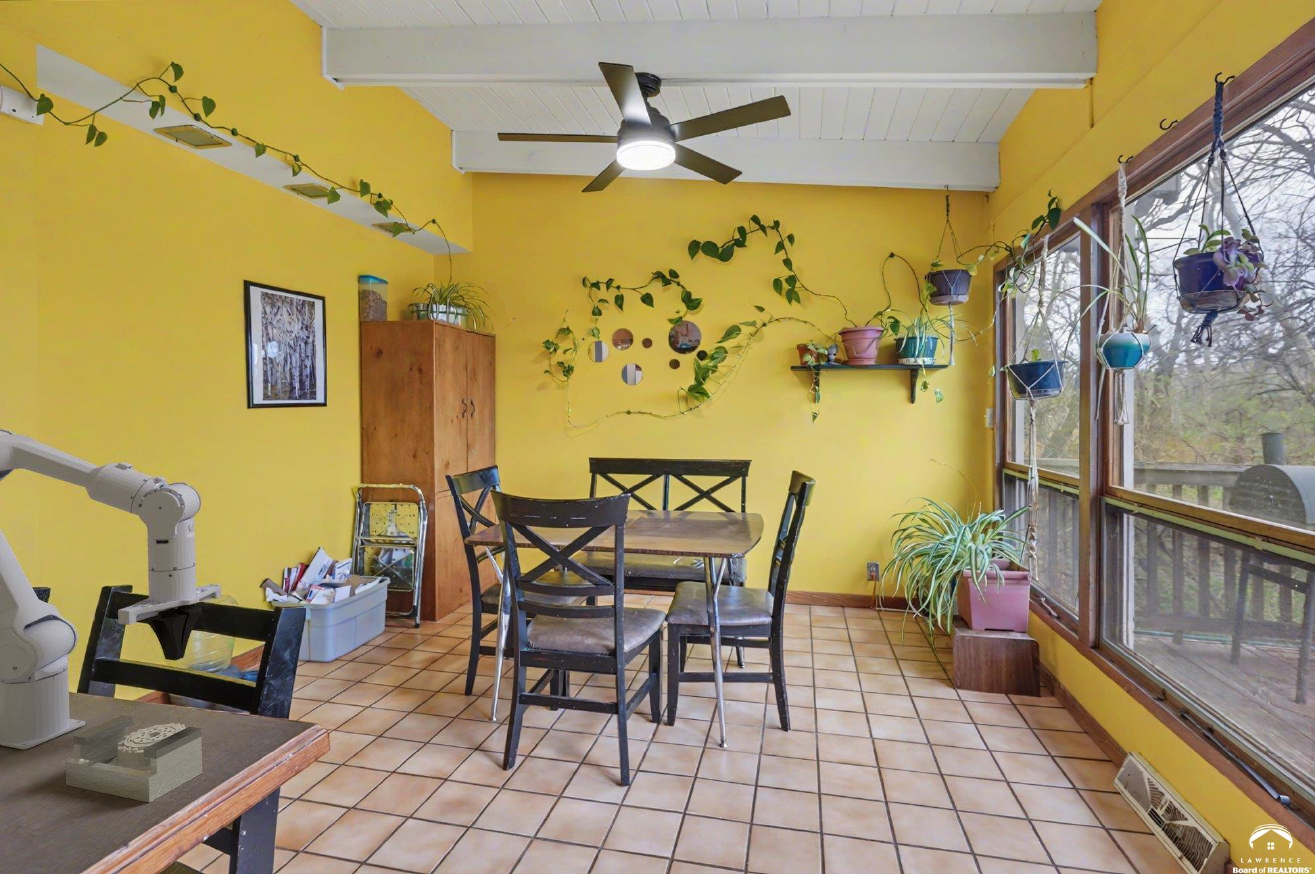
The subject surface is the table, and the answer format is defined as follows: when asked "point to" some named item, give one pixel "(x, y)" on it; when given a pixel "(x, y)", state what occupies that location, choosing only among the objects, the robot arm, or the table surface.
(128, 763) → the mechanical component
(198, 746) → the bracket
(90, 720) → the table surface
